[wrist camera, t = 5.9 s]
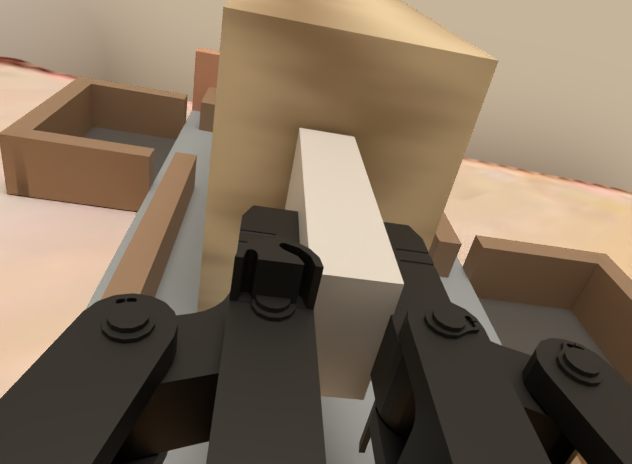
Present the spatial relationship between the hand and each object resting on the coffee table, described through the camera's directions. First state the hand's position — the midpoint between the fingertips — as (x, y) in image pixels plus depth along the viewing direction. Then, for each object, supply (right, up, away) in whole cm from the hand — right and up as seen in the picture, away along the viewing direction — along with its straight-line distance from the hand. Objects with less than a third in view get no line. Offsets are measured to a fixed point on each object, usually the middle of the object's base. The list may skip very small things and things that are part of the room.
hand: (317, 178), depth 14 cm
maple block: (-1, -1, +10) cm, 10 cm away
